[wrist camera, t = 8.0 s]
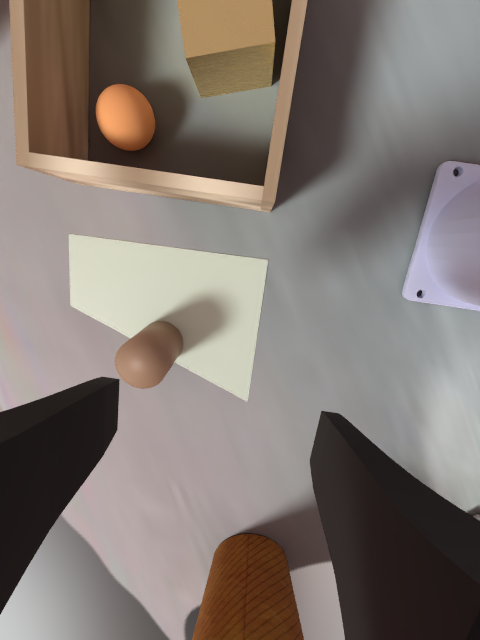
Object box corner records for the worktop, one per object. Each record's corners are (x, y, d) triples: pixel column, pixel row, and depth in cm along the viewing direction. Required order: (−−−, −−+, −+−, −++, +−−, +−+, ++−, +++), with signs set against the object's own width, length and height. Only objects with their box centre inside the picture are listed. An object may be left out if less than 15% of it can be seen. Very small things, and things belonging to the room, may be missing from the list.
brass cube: (263, -1, 16) (265, -77, 12) (271, 86, 17) (275, 41, 13) (190, 13, 16) (169, -56, 13) (201, 98, 17) (185, 58, 14)
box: (309, -34, 16) (333, -157, 11) (270, 212, 19) (274, 202, 14) (79, -65, 16) (0, -200, 11) (78, 184, 19) (16, 164, 14)
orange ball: (163, 103, 17) (145, 76, 15) (160, 160, 18) (141, 145, 15) (112, 96, 17) (84, 67, 15) (111, 153, 18) (83, 136, 15)
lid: (268, 259, 20) (271, 265, 16) (242, 430, 23) (239, 474, 19) (74, 233, 20) (22, 232, 16) (77, 406, 24) (35, 445, 19)
